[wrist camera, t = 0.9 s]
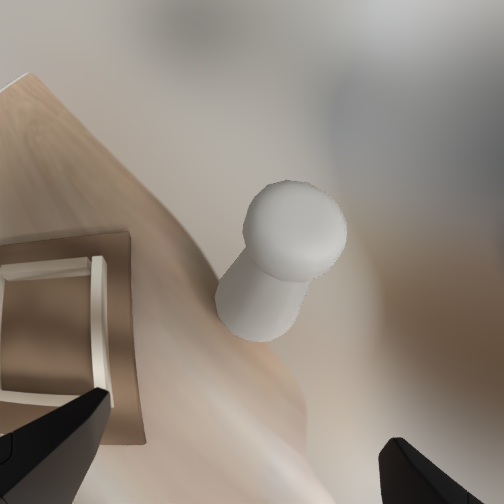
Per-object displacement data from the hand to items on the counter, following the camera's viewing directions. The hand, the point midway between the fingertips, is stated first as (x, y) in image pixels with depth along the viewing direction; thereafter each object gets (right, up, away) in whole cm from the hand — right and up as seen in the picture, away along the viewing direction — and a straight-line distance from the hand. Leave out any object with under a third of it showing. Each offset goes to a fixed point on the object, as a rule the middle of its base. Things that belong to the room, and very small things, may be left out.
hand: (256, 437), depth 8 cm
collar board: (-16, -1, +12) cm, 19 cm away
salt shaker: (0, +1, +15) cm, 16 cm away
